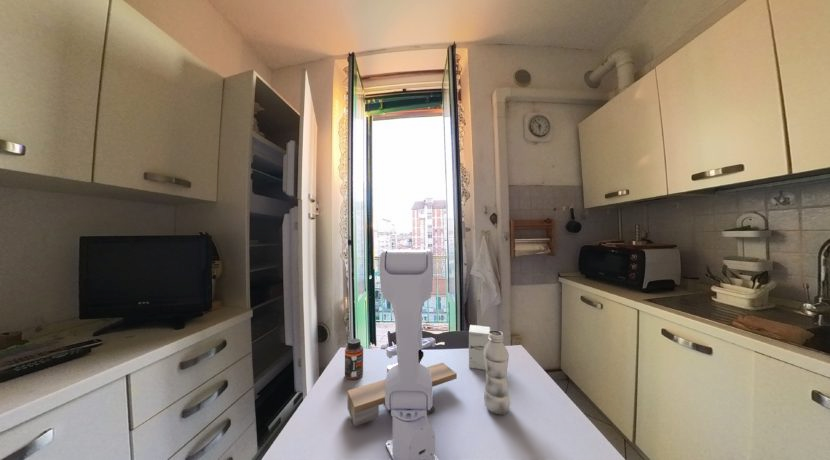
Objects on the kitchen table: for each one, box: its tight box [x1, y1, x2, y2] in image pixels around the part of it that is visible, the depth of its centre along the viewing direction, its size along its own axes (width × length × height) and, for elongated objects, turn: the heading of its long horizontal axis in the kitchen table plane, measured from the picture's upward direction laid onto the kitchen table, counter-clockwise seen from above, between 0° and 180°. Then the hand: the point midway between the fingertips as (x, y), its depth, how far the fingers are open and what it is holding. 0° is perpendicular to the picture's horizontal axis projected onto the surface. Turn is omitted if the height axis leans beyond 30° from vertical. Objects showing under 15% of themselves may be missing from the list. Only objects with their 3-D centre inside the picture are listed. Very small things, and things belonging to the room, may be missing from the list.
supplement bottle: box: [344, 338, 364, 381], centre depth 81 cm, size 6×6×11 cm
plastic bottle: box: [483, 329, 511, 415], centre depth 65 cm, size 6×7×20 cm
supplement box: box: [468, 324, 491, 371], centre depth 87 cm, size 7×7×13 cm
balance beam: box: [346, 362, 458, 427], centre depth 68 cm, size 7×30×4 cm, turn 119°
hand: (412, 376), depth 69 cm, fingers closed
